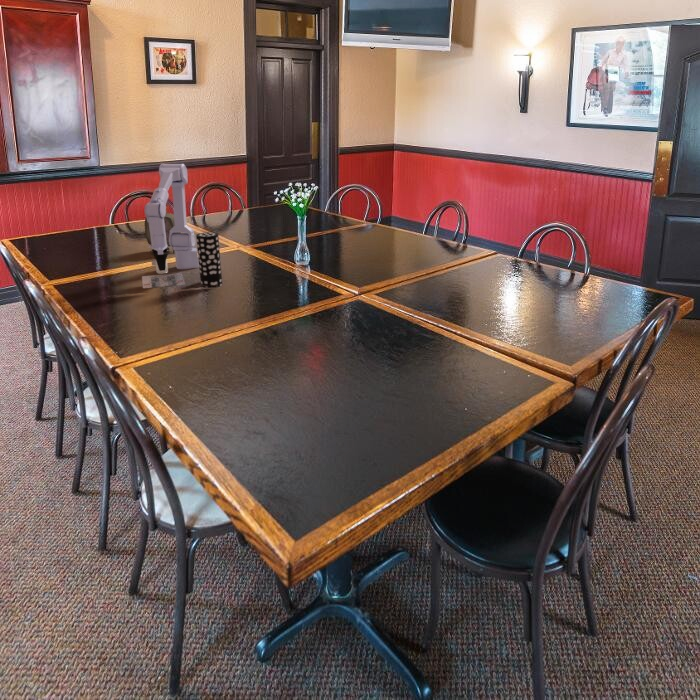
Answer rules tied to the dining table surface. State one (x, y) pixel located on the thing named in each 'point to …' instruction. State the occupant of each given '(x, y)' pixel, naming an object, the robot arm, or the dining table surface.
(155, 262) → the knob
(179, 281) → the hub plate
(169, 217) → the tabletop clock
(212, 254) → the white-spotted black cylinder
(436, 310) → the dining table surface
